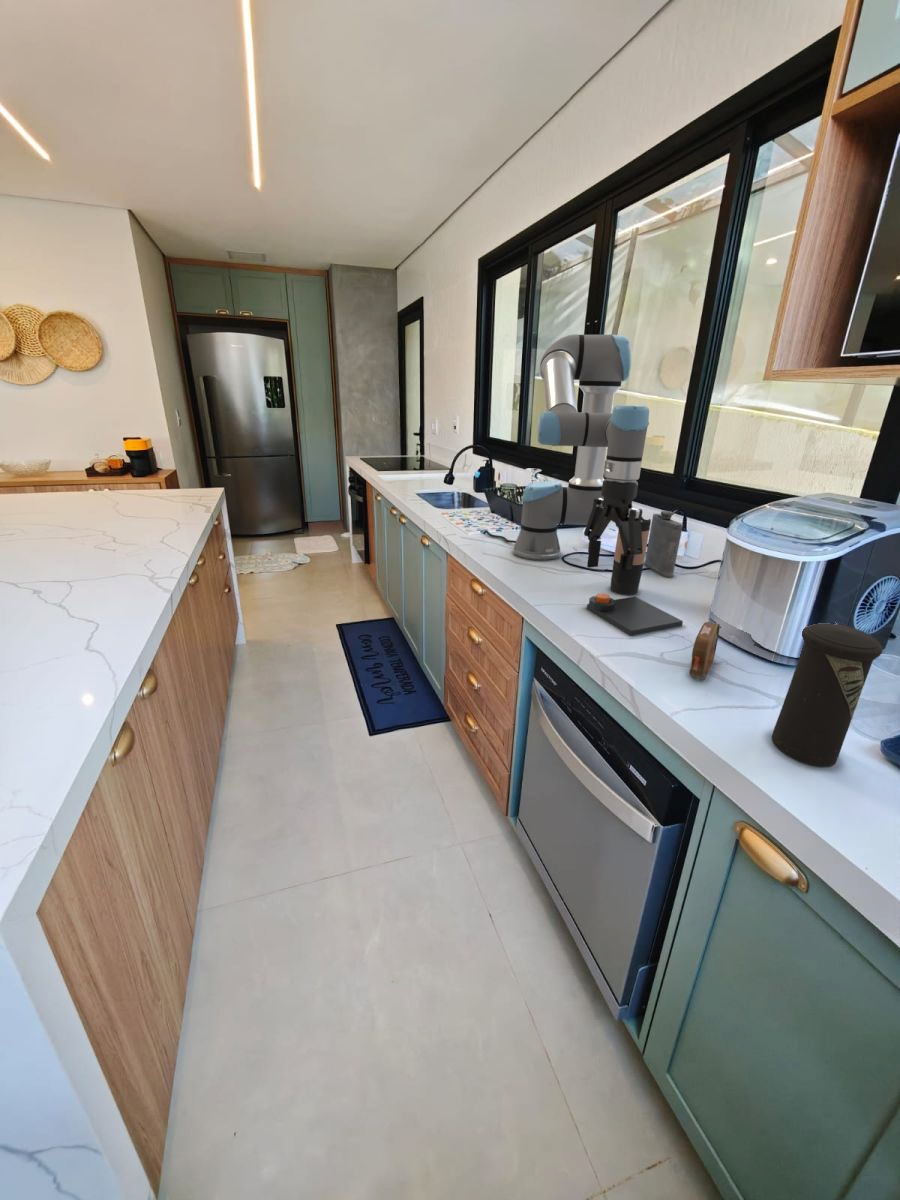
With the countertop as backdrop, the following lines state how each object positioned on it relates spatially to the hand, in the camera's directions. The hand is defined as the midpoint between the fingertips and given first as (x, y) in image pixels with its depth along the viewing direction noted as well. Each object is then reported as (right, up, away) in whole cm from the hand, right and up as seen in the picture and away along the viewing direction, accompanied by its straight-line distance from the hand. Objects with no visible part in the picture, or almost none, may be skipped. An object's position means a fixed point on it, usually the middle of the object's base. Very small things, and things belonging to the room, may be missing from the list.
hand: (606, 573), depth 120 cm
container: (+16, -29, -43) cm, 55 cm away
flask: (+26, +3, +35) cm, 43 cm away
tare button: (0, -7, +3) cm, 7 cm away
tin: (+12, -20, -21) cm, 31 cm away
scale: (+6, -10, +1) cm, 12 cm away
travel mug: (+10, -4, +17) cm, 20 cm away
